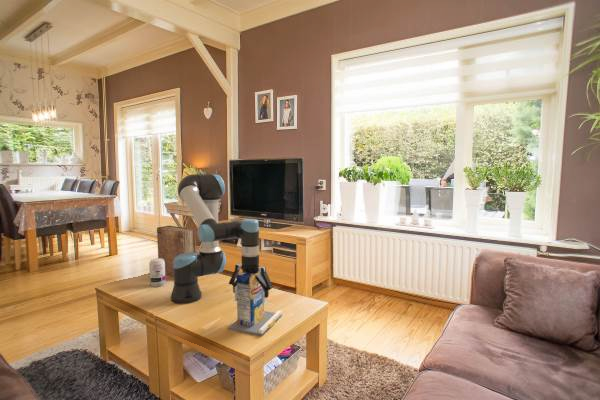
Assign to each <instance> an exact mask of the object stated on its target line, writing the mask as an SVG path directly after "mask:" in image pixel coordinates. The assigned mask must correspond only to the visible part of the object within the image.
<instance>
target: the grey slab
mask: <svg viewBox="0 0 600 400" xmlns="http://www.w3.org/2000/svg"><path fill="white" fill-rule="evenodd" d="M282 315H283V314H282V310H279V309H278V310H277V311H276V312H272V311H265V310H264V318H263V319H261V320H260V321H259V322H257V323H256V324H255V325H253V326H252V327H247V326H243V325H239V324H237V320H236V321H234V322H233V323H232V324H230V325H229V326H228V327H227V330H228V331H233V332H239V333H243V334H248V335H253V336H259V337H263V336H264V335H265V334H266V333H267V332H268V331H269V330H270V329H271V328H272V327H273V326H274V325H275V323H277V322H278V321H279V319H280V318H282Z"/></svg>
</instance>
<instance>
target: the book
mask: <svg viewBox="0 0 600 400" xmlns="http://www.w3.org/2000/svg"><path fill="white" fill-rule="evenodd" d="M156 234H157V235H156V241H157V258H162V259H164V261H165V276H168V277H169V276H170V277H172V278H174V268H173V264H174V258H175V257H176V256H178V255H180V254H183V253H188V252H189V253H190V252H195V253H197V252H196V229H195V228H190V227H183V226H175V225H164V226H159V227H157V228H156Z"/></svg>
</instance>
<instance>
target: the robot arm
mask: <svg viewBox="0 0 600 400" xmlns="http://www.w3.org/2000/svg"><path fill="white" fill-rule="evenodd" d="M225 192H226V185H225V181H224V179H223V178H222V176H221V175H219V174H214V173H208V174H207V173H206V174H205V173H203V174H196V173H194V174H188V175H186V176H184V177H183V178H182V179H181V180H180V181H179V183H178V187H177V194H178V197H179V198H180V200H181V201H182V202H183V203H185V205H186V206H187V208H188V210H189V212H190V214H191V215H192V217H193V219H194V220H195V222H196V224H197V226H198V227H197V233H196V235H197V236H198V237H197V239H198V240H199V242H201V243H202V245H201V246H202V247H201V248H200V249H199V254H197V252H196V253H195V252H190V253H189V252H188V253H183V254H180V255H178V256H176V257H175V258H174V264H173V268H174V277H173V288H172V291H171V295H170V301H171V303H173V304H177V305H183V304H184V305H185V304H191V303H195V302H198V301H199V300H201V299H202V291H201V288H200V286H199V281H198V278H199V277H204V276H208V275H209V276H210V275H217V274H219V273H222V272H223V271H224V270H225V267H226V265H227V257H226V253H225V252H224V251H223V249H222V247H220V245H219V242H220V241H224V240H225V241H226V240H233V239H240V243H241V244H240V245H241V249H240V250H241V263H237V264H235V265H234V270H233V273H232V275H231V277H230V279H229V282H228V285H232V292H233V294H234V301H235V302H237V274H239V273H240V270H241V272H243V273H246V272H247V273H251V274H255V273H257V272H258V271H259V270H260V272H261V274H262V277H263V278H262V277H261V275H260V274H258V275H256V279H257V281H258V282H259V283H260V285H261V286H262V288H263V289H264V290H263V291H262V298H263V306H264V307H265V306H266V305H267V304H268V298H269V292H270V290H272V289H273V288H274V286H273V283H272V281H271V278H270V277H269V275H268V272H267V268H266V266H262V267H261V266H260V265H259V264H260V227H259V220H258V219H256V218H245V219H241V220H238V219H234V220H231V221H227V222H219V202H220V201H221V200H222V199H221V198H222V197H223V196H224V195H225ZM263 279H264V280H263Z"/></svg>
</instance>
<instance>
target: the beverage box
mask: <svg viewBox="0 0 600 400" xmlns="http://www.w3.org/2000/svg"><path fill="white" fill-rule="evenodd" d="M258 274H260V275H261V277H262V274H261V272H260V270H259V271H258V272H257V273H255V274H251V273H247V272H246V273H243V271H240V272H239V273H238V274H237V277H236V280H237V301H236V302H237V303H236V305H237V307H236V309H237V310H236V312H237V313H236V314H237V318H236V319H237V320H236V321H237V324H239V325H243V326H247V327H252V326H253V325H255V324H256V323H257V322H259V321H260V320H261V319H263V318H264V311H265V305H264V306H263V298H262V291H263V290H264V289H263V288H262V286H261V285H260V283H259V282H258V281H257V279H256V275H258ZM262 278H263V277H262ZM263 280H264V279H263Z"/></svg>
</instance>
